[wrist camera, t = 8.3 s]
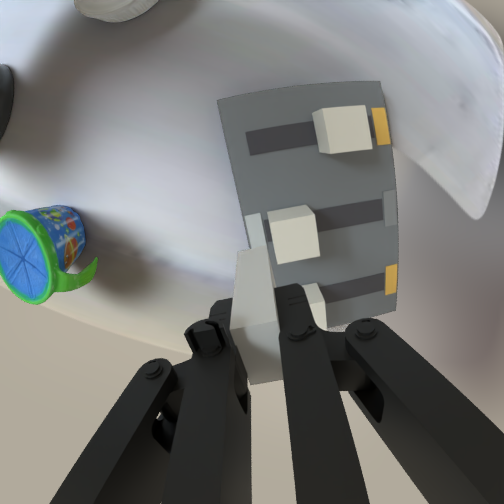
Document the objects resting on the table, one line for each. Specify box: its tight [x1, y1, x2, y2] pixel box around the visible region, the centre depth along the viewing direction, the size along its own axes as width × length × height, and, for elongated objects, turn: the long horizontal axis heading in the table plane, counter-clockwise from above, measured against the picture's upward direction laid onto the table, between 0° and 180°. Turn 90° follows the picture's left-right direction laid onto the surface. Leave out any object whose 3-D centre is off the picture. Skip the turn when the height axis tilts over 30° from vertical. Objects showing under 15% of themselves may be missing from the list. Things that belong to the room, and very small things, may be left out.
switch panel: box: [217, 81, 398, 328], centre depth 30 cm, size 17×28×2 cm, turn 12°
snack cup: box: [0, 205, 98, 305], centre depth 26 cm, size 16×10×10 cm
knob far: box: [302, 283, 327, 331], centre depth 30 cm, size 4×4×4 cm
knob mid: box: [267, 205, 320, 264], centre depth 27 cm, size 4×4×4 cm
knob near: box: [312, 105, 373, 154], centre depth 23 cm, size 4×4×4 cm
